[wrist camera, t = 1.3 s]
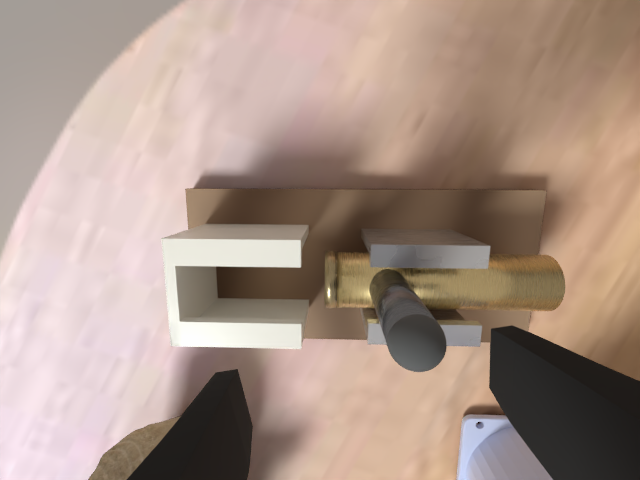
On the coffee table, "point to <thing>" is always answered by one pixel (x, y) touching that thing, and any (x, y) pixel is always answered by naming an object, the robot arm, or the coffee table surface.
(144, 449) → the sculpture
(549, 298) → the brass bolt
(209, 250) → the socket block
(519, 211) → the guide board
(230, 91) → the coffee table surface
